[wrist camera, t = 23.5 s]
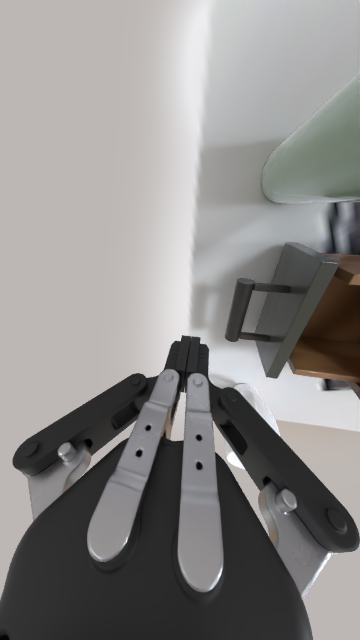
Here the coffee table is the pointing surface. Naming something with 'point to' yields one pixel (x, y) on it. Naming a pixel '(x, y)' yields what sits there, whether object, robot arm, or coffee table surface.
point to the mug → (260, 407)
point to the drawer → (305, 315)
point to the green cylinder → (320, 154)
